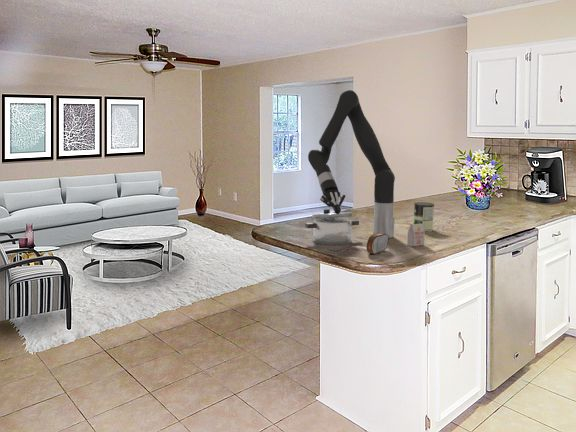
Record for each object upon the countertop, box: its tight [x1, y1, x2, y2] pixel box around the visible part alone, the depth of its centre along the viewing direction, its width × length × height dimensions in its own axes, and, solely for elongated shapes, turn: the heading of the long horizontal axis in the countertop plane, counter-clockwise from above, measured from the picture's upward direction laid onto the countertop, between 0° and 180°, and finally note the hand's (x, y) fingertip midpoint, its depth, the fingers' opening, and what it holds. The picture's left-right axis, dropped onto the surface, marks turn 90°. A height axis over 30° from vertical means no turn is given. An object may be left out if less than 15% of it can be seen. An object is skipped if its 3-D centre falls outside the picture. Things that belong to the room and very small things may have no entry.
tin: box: [366, 232, 389, 255], centre depth 221 cm, size 15×3×8 cm, turn 141°
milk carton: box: [406, 224, 426, 247], centre depth 235 cm, size 4×7×10 cm, turn 115°
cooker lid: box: [311, 208, 354, 219], centre depth 242 cm, size 19×19×4 cm
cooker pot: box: [304, 217, 360, 246], centre depth 243 cm, size 27×18×10 cm, turn 112°
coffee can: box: [412, 201, 435, 232], centre depth 271 cm, size 10×10×14 cm
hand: (338, 212), depth 236 cm, fingers closed
